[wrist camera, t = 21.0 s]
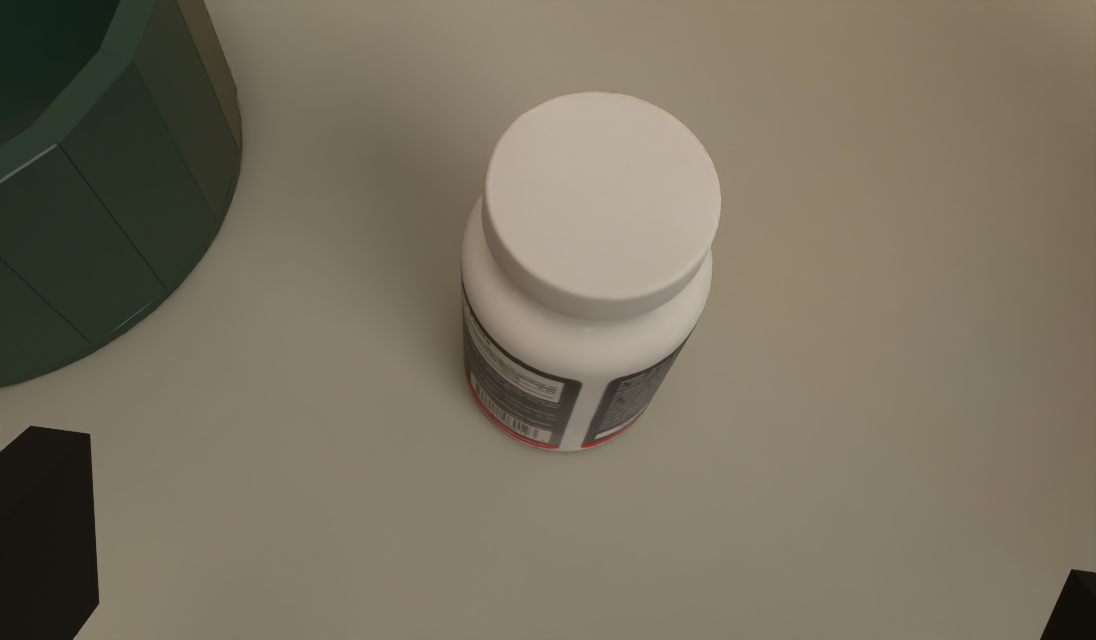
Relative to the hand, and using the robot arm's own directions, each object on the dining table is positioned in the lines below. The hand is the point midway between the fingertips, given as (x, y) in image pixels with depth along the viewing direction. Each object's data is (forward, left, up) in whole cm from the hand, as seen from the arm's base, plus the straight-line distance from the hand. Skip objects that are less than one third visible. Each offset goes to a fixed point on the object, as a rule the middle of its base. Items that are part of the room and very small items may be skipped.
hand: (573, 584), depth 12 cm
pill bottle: (-3, -7, -12) cm, 15 cm away
